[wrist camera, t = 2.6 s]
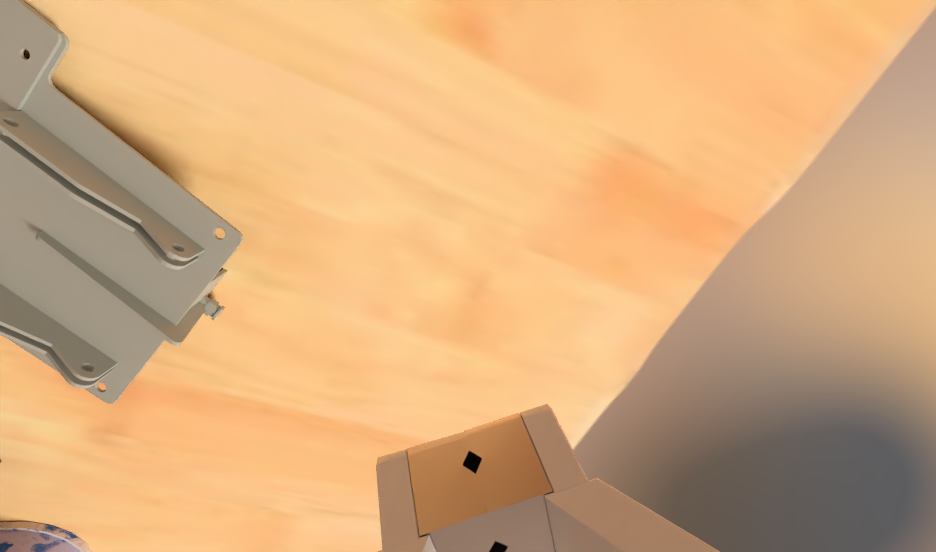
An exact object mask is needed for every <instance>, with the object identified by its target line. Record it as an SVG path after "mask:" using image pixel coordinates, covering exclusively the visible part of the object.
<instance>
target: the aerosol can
mask: <svg viewBox="0 0 936 552" xmlns="http://www.w3.org/2000/svg"><path fill="white" fill-rule="evenodd" d="M0 552H92V551H91V550H90V548H89V547H88V545H87V544H86V543H85V542H84V541H82V540H81V539H80V538H78V537H77V536H75V535H74V534H73V533H71V532H68V531H65V530H63V529H60V528H57V527H55V526H52V525H47V524H41V523H34V522H28V521H20V522H0Z"/></svg>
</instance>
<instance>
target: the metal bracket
mask: <svg viewBox="0 0 936 552" xmlns="http://www.w3.org/2000/svg"><path fill="white" fill-rule="evenodd" d="M68 47H69V40H68V37H67V36H66V35H65V34H64V33H63V32H62V31H60V30H59V29H58V28H57V27H55V26H54V25H53V24H52V23H51V22H49V21H48V20H47V19H46V18H44V17H43V16H42V15H41V14H39V13H38V12H37V11H36V10H34V9H33V8H32V7H31V6H29V5H28V4H27V3H26V2H25V1H23V0H0V335H1V336H3V337H6V338H8V339H9V340H11V341H12V342H14V343H15V344H17V345H18V346H20V347H21V348H23V349H24V350H26V351H28V352H29V353H31V354H32V355H34V356H35V357H37V358H38V359H40V360H41V361H43V362H44V363H46V364H47V365H49V366H50V367H52V368H54V369H55V370H57V371H58V372H60V374H61V375H62V376H63V377H64V379H65V380H66V381H67V382H68V383H69V384H70V385H72V386H74V387H77V388H84V389H86V390H87V391H89V392H90V393H92V394H93V395H95V396H96V397H98V398H100V399H101V400H103V401H104V402H106V403H114V402H115V401H117V400H118V399H119V397H120V396H121V395H122V394H123V392H124V391H125V390H126V389H127V387H128V386H129V385H130V383H131V382H132V381H133V380H134V378H135V377H136V376H137V375H138V373H139V372H140V371H141V370H142V368H143V367H144V366H145V364H146V363H147V362H148V361H149V359H150V358H151V357H152V356H153V354H154V353H155V352H156V351H157V349H158V348H159V347H160V345H161V344H162V343H163V342H164V340H167V341H168V342H169V343H171V344H172V345H180V344H181V343H182V341H183V340H184V339H185V337H186V336H187V335H188V333H189V332H190V330H191V329H192V328H193V326H194V325H195V323H196V322H197V321H198V319H199V318H200V317H201V315H202V314H203V313H204V314H205V315H207V316H208V315H210V316H211V317H212V320H214V319H215V318H217V317H218V316H219V314H220V313H221V312H222V311H223V310H224V308H225V307H224V306H222V307H221V306H219V305H218V304H219V302H217V301H216V300H214V299H212V300H211V299H210V298H208V297H207V296H208V295H209V293H210V292H211V291H212V290H213V288H214V287H215V286H216V285H217V282H218V281H219V280H220V279H221V278H222V277H223V276H224V274H225V273H226V272H227V270H225V269H223V270H221V268H222V267H223V266H224V264H225V263H226V262H227V261H228V259H229V258H230V257H231V256H232V254H233V253H234V252H235V251H236V249H237V248H238V247H239V245H240V244H241V243H242V240H243V236H242V234H241V233H240V231H238V230H237V229H236V228H235V227H233V226H232V225H231V224H229V223H228V222H227V221H226V220H224V219H223V218H222V217H221V216H219V215H218V214H217V213H215V212H214V211H213V210H212V209H210V208H209V207H208V206H206V205H205V204H204V203H203V202H201V201H200V200H199V199H197V198H196V197H195V196H194V195H192V194H191V193H190V192H188V191H187V190H186V189H185V188H183V187H182V186H181V185H179V184H178V183H177V182H176V181H174V180H173V179H172V178H171V177H169V176H168V175H167V174H165V173H164V172H163V171H162V170H160V169H159V168H158V167H156V166H155V165H154V164H153V163H151V162H150V161H149V160H147V159H146V158H145V157H144V156H142V155H141V154H140V153H138V152H137V151H136V150H135V149H133V148H132V147H131V146H130V145H128V144H127V143H126V142H124V141H123V140H122V139H121V138H119V137H118V136H117V135H115V134H114V133H113V132H112V131H110V130H109V129H108V128H106V127H105V126H104V125H103V124H101V123H100V122H99V121H97V120H96V119H95V118H94V117H92V116H91V115H90V114H88V113H87V112H86V111H85V110H83V109H82V108H81V107H80V106H78V105H77V104H76V103H74V102H73V101H72V100H71V99H69V98H68V97H67V96H65V95H64V94H63V93H62V92H60V91H59V90H58V89H56V87H55V86H54V85H53V84H52V80H51V77H52V74H53V72H54V71H55V69H56V67H57V66H58V64H59V62H60V61H61V59H62V58H63V56H64V54H65V53H66V51H67V49H68ZM25 49H26V50H28V52H29V53H30V58H29V59H26V58H25V57H24V54H23V52H24V50H25ZM216 228H222V229H223V230H224V231H225V234H226V236H225V238H224V239H220V238H218V237H217V236H216V235H215V230H216ZM220 270H221V271H220ZM219 271H220V272H219ZM98 382H101V383H104V384H105V385H106V388H107V389H106V390H101V389H100V388H99V387H98V385H97V384H98Z"/></svg>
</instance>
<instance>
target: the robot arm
mask: <svg viewBox="0 0 936 552" xmlns="http://www.w3.org/2000/svg"><path fill="white" fill-rule="evenodd" d="M376 471H377V484H378V497H379V510H380V523H381V536H382V549H383V550H381V551H378V552H720V551H718V550H716V549H714V548H713V547H711V546H710V545H708V544H706V543H704V542H703V541H701V540H700V539H698V538H696V537H694V536H693V535H691V534H689V533H688V532H686V531H685V530H683V529H681V528H680V527H678V526H676V525H674V524H673V523H671V522H670V521H668V520H666V519H665V518H663V517H661V516H660V515H658V514H656V513H655V512H653V511H651V510H650V509H648V508H646V507H644V506H643V505H641V504H640V503H638V502H636V501H634V500H633V499H631V498H629V497H628V496H626V495H625V494H623V493H621V492H620V491H618V490H616V489H615V488H613V487H611V486H610V485H608V484H606V483H604V482H603V481H601V480H600V479H598V478H597V479H594V480H590V481H588V479H587V477H586V475H585V473H584V471H583V469H582V467H581V465H580V463H579V461H578V459H577V457H576V455H575V453H574V451H573V449H572V448H571V446H570V444H569V442H568V440H567V438H566V436H565V434H564V432H563V430H562V428H561V426H560V424H559V422H558V420H557V418H556V416H555V414H554V412H553V410H552V408H551V407H550V406H548V405H547V404H545V405H542V406H539V407H536V408H533V409H530V410H527V411H524V412H521V413H520V414H518V413H517V414H514V415H511V416H508V417H505V418H502V419H499V420H496V421H493V422H490V423H487V424H484V425H481V426H478V427H475V428H472V429H469V430H466V431H464V432H462V433H459V434H455V435H452V436H448V437H445V438H442V439H438V440H435V441H431V442H428V443H424V444H421V445H418V446H414V447H411V448H407V449H406V450H402V451H399V452H395V453H392V454H389V455H385V456H382V457H379V458H378V460H377V465H376Z"/></svg>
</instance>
